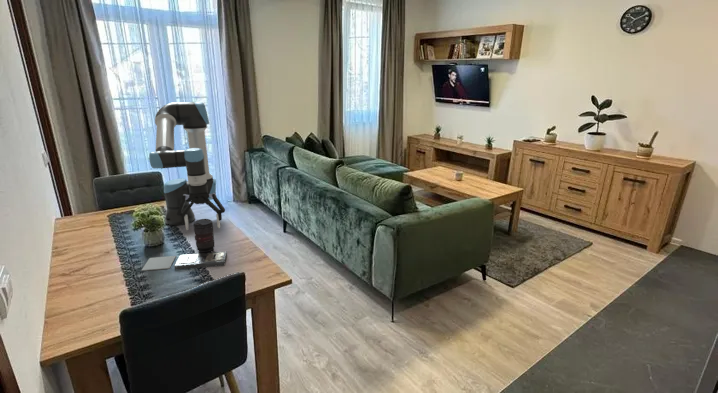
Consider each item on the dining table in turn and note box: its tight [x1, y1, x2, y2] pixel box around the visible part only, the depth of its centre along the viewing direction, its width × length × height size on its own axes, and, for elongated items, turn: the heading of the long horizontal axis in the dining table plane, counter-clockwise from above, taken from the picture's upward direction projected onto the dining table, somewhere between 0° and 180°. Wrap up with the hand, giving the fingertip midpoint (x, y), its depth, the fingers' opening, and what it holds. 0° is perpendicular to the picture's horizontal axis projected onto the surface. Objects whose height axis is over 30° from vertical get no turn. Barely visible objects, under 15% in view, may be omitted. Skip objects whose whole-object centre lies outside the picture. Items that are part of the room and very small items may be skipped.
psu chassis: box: [173, 250, 228, 271], centre depth 164 cm, size 10×20×2 cm, turn 102°
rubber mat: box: [141, 255, 177, 272], centre depth 163 cm, size 11×11×1 cm
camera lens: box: [193, 218, 215, 253], centre depth 172 cm, size 8×8×15 cm
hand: (203, 228), depth 171 cm, fingers open, 13 cm apart
